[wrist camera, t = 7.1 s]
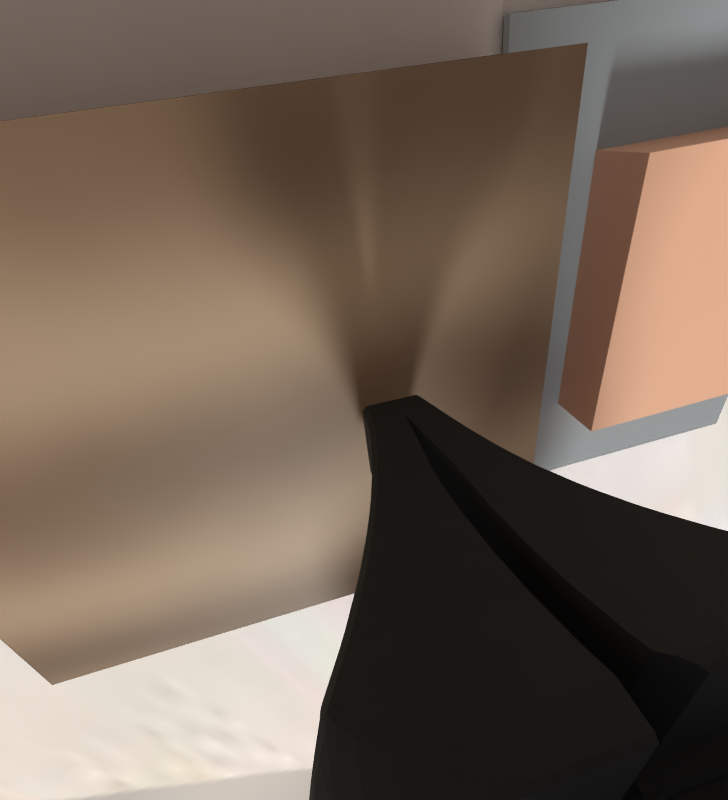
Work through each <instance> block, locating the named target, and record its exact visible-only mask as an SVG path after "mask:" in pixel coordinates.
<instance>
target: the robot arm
mask: <svg viewBox="0 0 728 800" xmlns="http://www.w3.org/2000/svg"><path fill="white" fill-rule="evenodd" d="M362 414H363V421H364V428H365V436H366V443H367V450H368V457H369V464H370V471H371V474H372V485H371V502H370V512H369V520H368V528H367V535H366V541H365V546H364V552H363V558H362V563H361V568H360V573H359V578H358V582H357V587H356V590H355V594H354V598H353V602H352V606H351V610H350V614H349V618H348V622H347V625H346V629H345V633H344V636H343V640H342V643H341V647H340V650H339V653H338V656H337V659H336V662H335V665H334V668H333V671H332V675H331V678H330V681H329V684H328V687H327V690H326V693H325V696H324V699H323V703H322V706H321V711H320V722H319V728H318V735H317V741H316V748H315V755H314V762H313V770H312V778H311V787H310V798H309V800H728V531H725V530H721V529H717V528H713V527H710V526H706V525H703V524H699V523H696V522H692V521H689V520H685V519H682V518H678V517H675V516H671V515H668V514H664V513H661V512H658V511H655V510H652V509H648V508H645V507H642V506H639V505H636V504H633V503H630V502H627V501H624V500H622V499H619V498H616V497H613V496H610V495H608V494H605V493H602V492H599V491H597V490H594V489H591V488H589V487H586V486H584V485H581V484H579V483H576V482H574V481H571V480H569V479H567V478H564V477H562V476H560V475H558V474H555V473H553V472H551V471H548V470H546V469H544V468H542V467H539V466H537V465H535V464H533V463H531V462H529V461H527V460H525V459H523V458H521V457H519V456H517V455H515V454H513V453H512V452H510V451H508V450H506V449H504V448H502V447H500V446H498V445H497V444H495V443H493V442H491V441H489V440H488V439H486V438H484V437H483V436H481V435H479V434H477V433H476V432H474V431H472V430H471V429H469V428H468V427H466V426H464V425H463V424H461V423H460V422H458V421H456V420H455V419H453V418H452V417H450V416H449V415H447V414H446V413H444V412H442V411H441V410H439V409H438V408H436V407H435V406H433V405H432V404H430V403H429V402H427V401H426V400H424V399H423V398H421V397H420V396H418V395H413V396H409V397H404V398H400V399H396V400H391V401H387V402H383V403H379V404H374V405H370V406H366V407H365V409H364V410H363V411H362Z"/></svg>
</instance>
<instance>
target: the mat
mask: <svg viewBox="0 0 728 800" xmlns="http://www.w3.org/2000/svg"><path fill="white" fill-rule="evenodd" d="M580 43H588V47H587V55H586V62H585V70H584V78H583V86H582V93H581V101H580V109H579V117H578V124H577V132H576V140H575V148H574V155H573V163H572V171H571V179H570V186H569V194H568V202H567V210H566V218H565V225H564V233H563V241H562V249H561V256H560V264H559V272H558V280H557V287H556V295H555V303H554V311H553V318H552V326H551V334H550V342H549V349H548V357H547V365H546V373H545V380H544V388H543V396H542V404H541V412H540V419H539V427H538V435H537V443H536V450H535V458H534V464H535V465H537V466H539V467H542V468H544V469H546V470H552V469H556V468H559V467H563V466H566V465H570V464H573V463H577V462H580V461H584V460H588V459H591V458H595V457H598V456H602V455H605V454H609V453H612V452H616V451H620V450H623V449H627V448H630V447H634V446H637V445H641V444H644V443H648V442H652V441H655V440H659V439H662V438H666V437H669V436H673V435H676V434H680V433H684V432H687V431H691V430H694V429H698V428H701V427H705V426H708V425H712V424H716V422H717V420H718V418H719V415H720V413H721V410H722V408H723V406H724V403H725V401H726V398H727V396H728V394H726V395H722V396H719V397H715V398H711V399H708V400H704V401H701V402H697V403H693V404H690V405H686V406H682V407H679V408H675V409H671V410H668V411H664V412H661V413H657V414H653V415H650V416H646V417H642V418H639V419H635V420H632V421H628V422H624V423H621V424H617V425H613V426H610V427H606V428H602V429H599V430H595V431H592V432H591V431H590V430H589V429H587V428H586V427H585V426H584V425H583V424H582V423H580V422H579V421H578V420H577V419H576V418H575V417H573V416H572V415H571V414H570V413H569V412H567V411H566V410H565V409H564V408H563V407H562V406H560V405H559V404H558V400H559V393H560V387H561V380H562V373H563V367H564V360H565V353H566V346H567V340H568V333H569V326H570V320H571V313H572V306H573V300H574V293H575V286H576V280H577V273H578V266H579V260H580V253H581V246H582V240H583V233H584V226H585V220H586V213H587V206H588V200H589V193H590V186H591V180H592V173H593V166H594V160H595V153H596V150H600V149H606V148H611V147H617V146H622V145H628V144H634V143H639V142H645V141H651V140H656V139H662V138H667V137H673V136H679V135H684V134H690V133H695V132H701V131H707V130H712V129H718V128H724V127H728V0H616V1H607V2H599V3H591V4H582V5H574V6H566V7H558V8H549V9H541V10H533V11H524V12H516V13H510V14H507V15H505V16H504V28H503V51H502V54H505V53H513V52H520V51H528V50H535V49H543V48H550V47H558V46H565V45H573V44H580Z"/></svg>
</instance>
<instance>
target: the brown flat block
mask: <svg viewBox="0 0 728 800" xmlns="http://www.w3.org/2000/svg"><path fill="white" fill-rule="evenodd" d="M587 47H588V43H580V44H573V45H565V46H558V47H550V48H543V49H535V50H528V51H520V52H513V53H505V54H498V55H491V56H483V57H476V58H468V59H461V60H453V61H446V62H438V63H431V64H423V65H416V66H408V67H401V68H394V69H386V70H379V71H371V72H364V73H356V74H349V75H341V76H334V77H326V78H319V79H311V80H304V81H296V82H289V83H282V84H274V85H267V86H259V87H252V88H244V89H237V90H229V91H222V92H214V93H207V94H199V95H192V96H184V97H177V98H170V99H162V100H155V101H147V102H140V103H132V104H125V105H117V106H110V107H102V108H95V109H87V110H80V111H73V112H65V113H58V114H50V115H43V116H35V117H28V118H20V119H13V120H5V121H0V639H1V640H2V641H3V642H4V643H5V644H6V645H8V646H9V647H10V648H11V649H12V650H13V651H14V652H15V653H17V654H18V655H19V656H20V657H21V658H22V659H23V660H25V661H26V662H27V663H28V664H29V665H30V666H31V667H32V668H34V669H35V670H36V671H37V672H38V673H39V674H40V675H42V676H43V677H44V678H45V679H46V680H47V681H48V682H49V683H51V684H52V685H54V684H57V683H60V682H63V681H67V680H70V679H73V678H77V677H80V676H83V675H86V674H90V673H93V672H96V671H100V670H103V669H106V668H110V667H113V666H116V665H119V664H123V663H126V662H129V661H133V660H136V659H139V658H142V657H146V656H149V655H152V654H156V653H159V652H162V651H166V650H169V649H172V648H175V647H179V646H182V645H185V644H189V643H192V642H195V641H198V640H202V639H205V638H208V637H212V636H215V635H218V634H222V633H225V632H228V631H231V630H235V629H238V628H241V627H245V626H248V625H251V624H254V623H258V622H261V621H264V620H268V619H271V618H274V617H278V616H281V615H284V614H287V613H291V612H294V611H297V610H301V609H304V608H307V607H310V606H314V605H317V604H320V603H324V602H327V601H330V600H334V599H337V598H340V597H343V596H347V595H350V594H353V593H355V590H356V587H357V582H358V578H359V573H360V568H361V563H362V558H363V552H364V546H365V541H366V535H367V528H368V520H369V512H370V502H371V485H372V474H371V471H370V464H369V457H368V450H367V443H366V436H365V428H364V421H363V414H362V411H363V410H364V409H365V407H366V406H370V405H374V404H379V403H383V402H387V401H391V400H396V399H400V398H404V397H409V396H413V395H418V396H420V397H421V398H423V399H424V400H426V401H427V402H429V403H430V404H432V405H433V406H435V407H436V408H438V409H439V410H441V411H442V412H444V413H446V414H447V415H449V416H450V417H452V418H453V419H455V420H456V421H458V422H460V423H461V424H463V425H464V426H466V427H468V428H469V429H471V430H472V431H474V432H476V433H477V434H479V435H481V436H483V437H484V438H486V439H488V440H489V441H491V442H493V443H495V444H497V445H498V446H500V447H502V448H504V449H506V450H508V451H510V452H512V453H513V454H515V455H517V456H519V457H521V458H523V459H525V460H527V461H529V462H531V463H533V464H534V458H535V450H536V443H537V435H538V427H539V419H540V412H541V404H542V396H543V388H544V380H545V373H546V365H547V357H548V349H549V342H550V334H551V326H552V318H553V311H554V303H555V295H556V287H557V280H558V272H559V264H560V256H561V249H562V241H563V233H564V225H565V218H566V210H567V202H568V194H569V186H570V179H571V171H572V163H573V155H574V148H575V140H576V132H577V124H578V117H579V109H580V101H581V93H582V86H583V78H584V70H585V62H586V55H587Z"/></svg>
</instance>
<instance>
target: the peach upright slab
mask: <svg viewBox="0 0 728 800" xmlns="http://www.w3.org/2000/svg"><path fill="white" fill-rule="evenodd" d="M726 394H728V127H724V128H718V129H712V130H707V131H701V132H695V133H690V134H684V135H679V136H673V137H667V138H662V139H656V140H651V141H645V142H639V143H634V144H628V145H622V146H617V147H611V148H606V149H600V150H596V153H595V160H594V166H593V173H592V180H591V186H590V193H589V200H588V206H587V213H586V220H585V226H584V233H583V240H582V246H581V253H580V260H579V266H578V273H577V280H576V286H575V293H574V300H573V306H572V313H571V320H570V326H569V333H568V340H567V346H566V353H565V360H564V367H563V373H562V380H561V387H560V393H559V400H558V404H559V405H560V406H562V407H563V408H564V409H565V410H566V411H567V412H569V413H570V414H571V415H572V416H573V417H575V418H576V419H577V420H578V421H579V422H580V423H582V424H583V425H584V426H585V427H586V428H587V429H589V430H590V431H591V432H592V431H595V430H599V429H602V428H606V427H610V426H613V425H617V424H621V423H624V422H628V421H632V420H635V419H639V418H642V417H646V416H650V415H653V414H657V413H661V412H664V411H668V410H671V409H675V408H679V407H682V406H686V405H690V404H693V403H697V402H701V401H704V400H708V399H711V398H715V397H719V396H722V395H726Z"/></svg>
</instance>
